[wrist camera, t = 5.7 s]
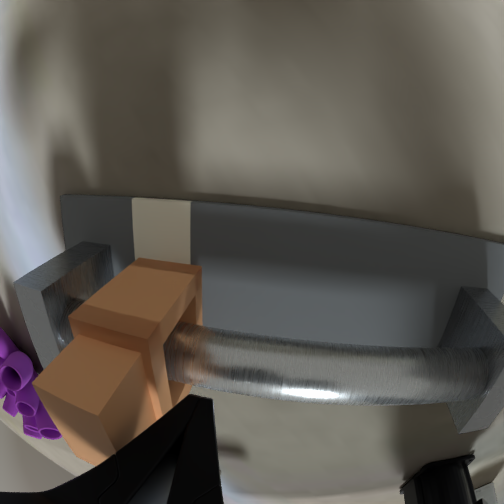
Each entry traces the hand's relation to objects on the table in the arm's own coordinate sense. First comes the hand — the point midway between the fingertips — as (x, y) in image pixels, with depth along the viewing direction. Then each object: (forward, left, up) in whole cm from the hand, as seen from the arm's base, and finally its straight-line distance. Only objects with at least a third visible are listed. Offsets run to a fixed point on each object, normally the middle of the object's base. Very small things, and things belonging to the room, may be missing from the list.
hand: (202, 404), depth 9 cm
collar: (+3, 0, -5) cm, 6 cm away
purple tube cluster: (+21, +11, -7) cm, 25 cm away
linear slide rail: (-2, 0, -7) cm, 7 cm away
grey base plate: (-2, 0, -7) cm, 7 cm away
